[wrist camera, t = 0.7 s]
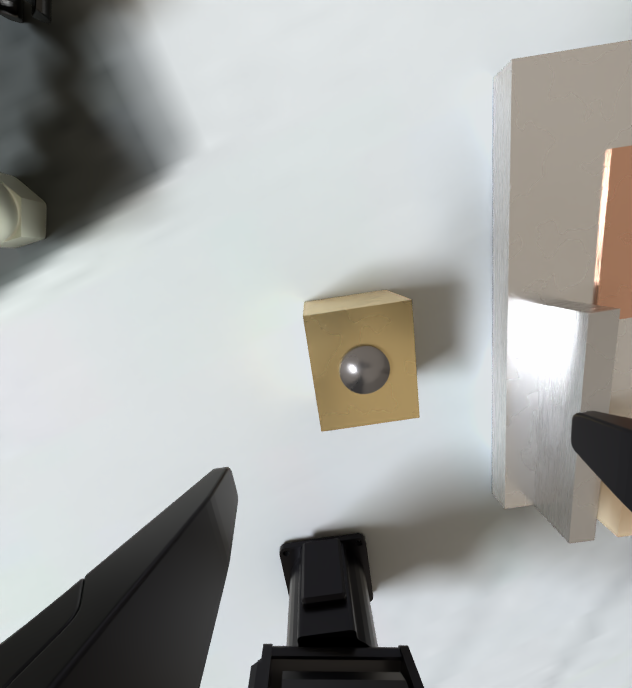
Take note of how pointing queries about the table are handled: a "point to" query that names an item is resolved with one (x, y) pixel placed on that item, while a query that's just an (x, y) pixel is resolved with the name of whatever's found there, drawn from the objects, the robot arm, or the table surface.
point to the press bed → (560, 273)
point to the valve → (7, 191)
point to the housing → (362, 359)
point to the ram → (613, 513)
